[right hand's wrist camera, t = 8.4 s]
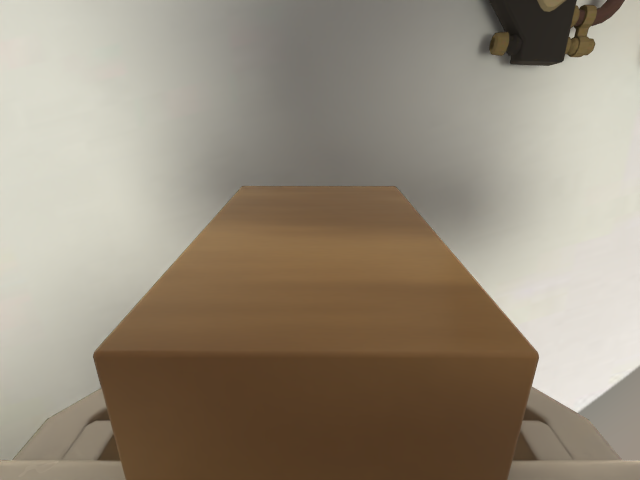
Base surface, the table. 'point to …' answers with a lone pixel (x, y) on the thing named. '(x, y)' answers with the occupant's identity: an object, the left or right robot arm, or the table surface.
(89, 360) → the table surface
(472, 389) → the bar
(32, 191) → the table surface
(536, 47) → the spray gun
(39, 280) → the table surface
